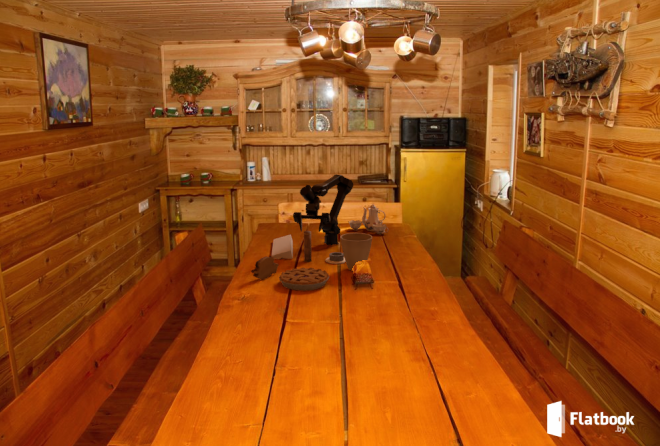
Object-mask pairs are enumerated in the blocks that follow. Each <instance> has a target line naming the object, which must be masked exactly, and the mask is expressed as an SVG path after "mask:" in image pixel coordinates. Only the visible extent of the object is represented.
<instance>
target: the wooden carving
mask: <svg viewBox="0 0 660 446" xmlns="http://www.w3.org/2000/svg"><path fill="white" fill-rule="evenodd" d="M254 266H255V267H254V269H252V270H250V271H251V273H252V274H253V275H252V276H253V277H255V278H257V279H259V280H266V279H268V278H269V277H271V276H272V275H273V274H274V275H275V274H276V273H277V271H278V268H279V263H278V262H275V259H274V257H272V255H271V256H262V257H261V258H260V259H258V260H256V262H255V264H254Z"/></svg>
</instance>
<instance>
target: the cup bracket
mask: <svg viewBox="0 0 660 446" xmlns="http://www.w3.org/2000/svg"><path fill="white" fill-rule="evenodd" d="M325 262H326V263H327V264H332V265H341V264H346V263H345V262H346V261H345V258H344V254H343V252H338V251H337V252H336V251H334V252H330V253H329V256H328V257H327V258H325Z"/></svg>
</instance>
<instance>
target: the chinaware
mask: <svg viewBox="0 0 660 446" xmlns="http://www.w3.org/2000/svg"><path fill="white" fill-rule="evenodd" d="M367 209H368V217H367ZM363 210H364V211H363V215H362V219H361V220H360V219H358V220H353V219H352V220H349V221H347V222H348V224H349V227H350V228H351V229H352V230H353V231H359V229H360V228H361V226H362V225H363V226H364V228H365V230H366V231H368V232H375V233H376V235H383V234H385V233H388V231H385V230H386V229H387V230H389V228H388V226H387V224H385V223H384V224H383V222H384V221H385V220H386V216H387V215H386V213H385V211H383V210H381V209H379V207H377V206H376V204H374V203H373V204H372V205H371V206H370V207H368V208H366V207H365V206H363ZM380 213H383V215H384V217H383V218H382V219H379V215H378V214H380Z"/></svg>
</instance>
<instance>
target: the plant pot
mask: <svg viewBox="0 0 660 446" xmlns="http://www.w3.org/2000/svg"><path fill="white" fill-rule="evenodd" d="M339 238H340V244H341V249H342V253H343V254H344V258H345V261H346V263H345V264H346V266H347V269H348V271H350V270H352V268H353V266H354V265H355V263H356V262H358V261H362V260H367V261H368V259H369V256H370V253H371V248H372V242H373V236H372V235H371V234H367V233H364V232H363V233H362V232H348V233H345V234H342V235H340V237H339Z"/></svg>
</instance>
